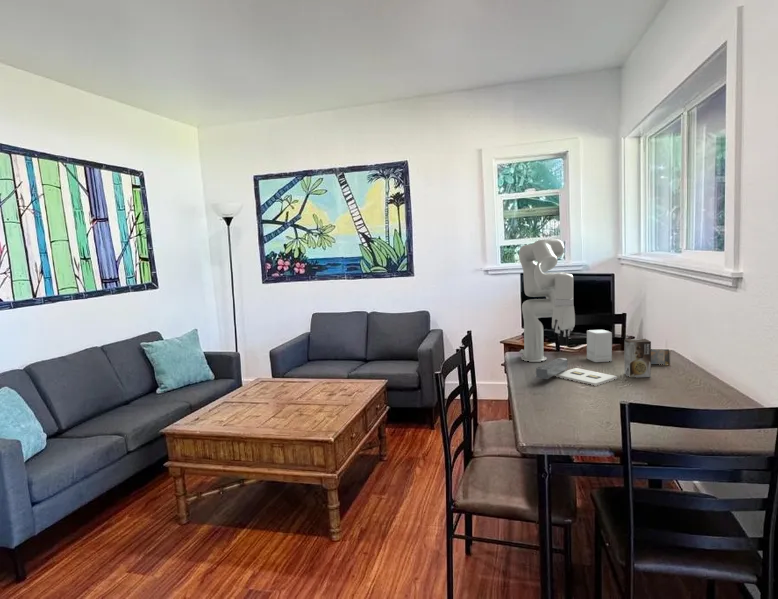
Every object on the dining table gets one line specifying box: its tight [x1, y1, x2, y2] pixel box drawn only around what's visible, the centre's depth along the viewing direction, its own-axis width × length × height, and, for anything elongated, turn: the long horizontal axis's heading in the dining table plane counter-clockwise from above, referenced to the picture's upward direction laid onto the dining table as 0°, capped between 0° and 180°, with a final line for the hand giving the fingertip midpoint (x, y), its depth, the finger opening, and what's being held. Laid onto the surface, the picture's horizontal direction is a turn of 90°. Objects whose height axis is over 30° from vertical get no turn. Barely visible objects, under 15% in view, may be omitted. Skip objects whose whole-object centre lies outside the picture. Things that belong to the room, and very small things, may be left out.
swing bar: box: [535, 357, 568, 380], centre depth 213 cm, size 24×5×4 cm, turn 138°
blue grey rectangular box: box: [651, 348, 672, 366], centre depth 227 cm, size 11×3×10 cm, turn 75°
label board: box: [554, 367, 618, 387], centre depth 212 cm, size 23×16×2 cm
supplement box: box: [586, 329, 613, 363], centre depth 240 cm, size 9×9×15 cm
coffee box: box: [623, 338, 652, 378], centre depth 209 cm, size 9×6×16 cm
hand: (564, 345), depth 203 cm, fingers closed
